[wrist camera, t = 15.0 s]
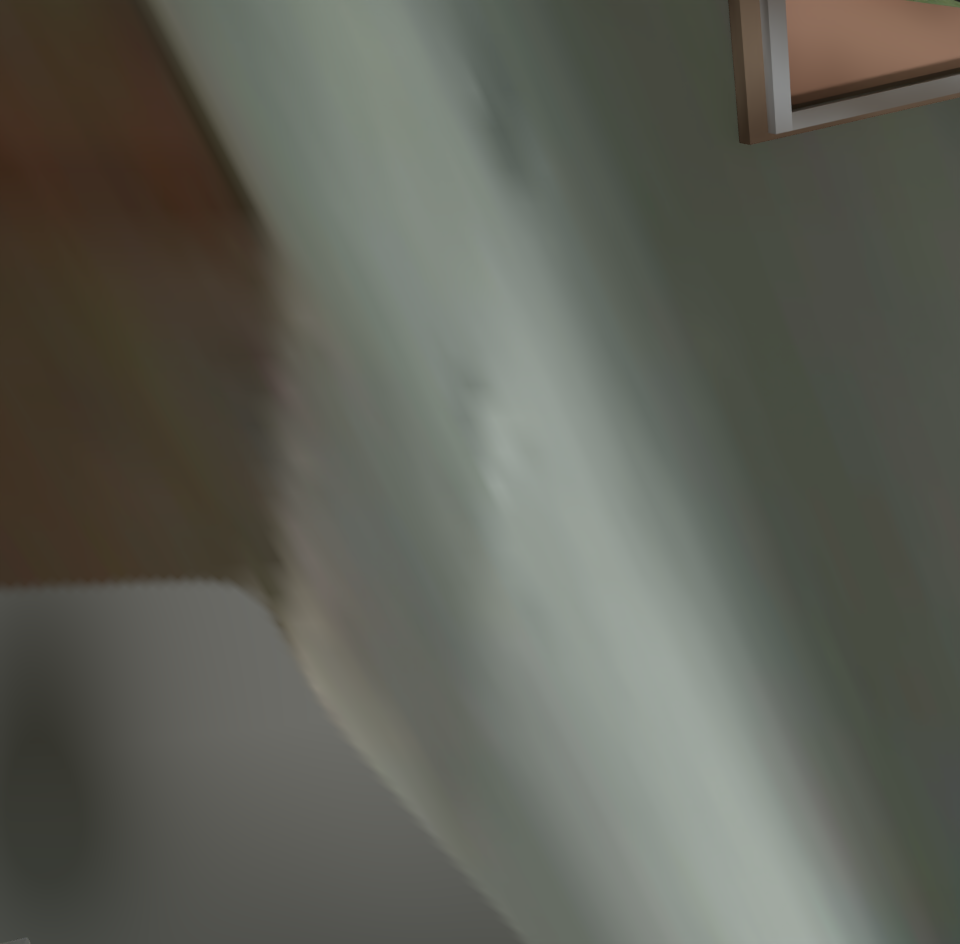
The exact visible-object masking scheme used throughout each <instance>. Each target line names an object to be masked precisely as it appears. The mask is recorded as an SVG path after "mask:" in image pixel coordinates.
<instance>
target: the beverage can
mask: <svg viewBox="0 0 960 944" xmlns="http://www.w3.org/2000/svg"><path fill="white" fill-rule="evenodd" d="M906 1H913V2H921V3H928V4H936V5H943V6H951V7H958V8H960V0H906Z"/></svg>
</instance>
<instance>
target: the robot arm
mask: <svg viewBox="0 0 960 944" xmlns="http://www.w3.org/2000/svg"><path fill="white" fill-rule="evenodd" d="M2 944H31V943H30V941H29V940H28V938H23V939H19V940H14V941H10V942H6V943H2Z"/></svg>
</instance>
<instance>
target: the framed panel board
mask: <svg viewBox="0 0 960 944" xmlns="http://www.w3.org/2000/svg"><path fill="white" fill-rule="evenodd" d="M728 2H729V15H730V28H731V40H732V53H733V65H734V78H735V91H736V103H737V116H738V129H739V141H740V143H744V144H749V145H751V144H756V143H760V142H765V141H769V140H773V139H778V138H782V137H787V136H791V135H795V134H800V133H804V132H809V131H813V130H817V129H822V128H826V127H831V126H835V125H839V124H844V123H848V122H853V121H857V120H861V119H866V118H870V117H875V116H879V115H883V114H888V113H892V112H897V111H901V110H905V109H910V108H914V107H919V106H923V105H928V104H932V103H936V102H941V101H945V100H950V99H954V98H958V97H960V8H958V7H951V6H943V5H936V4H928V3H921V2H913V1H906V0H728Z"/></svg>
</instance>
